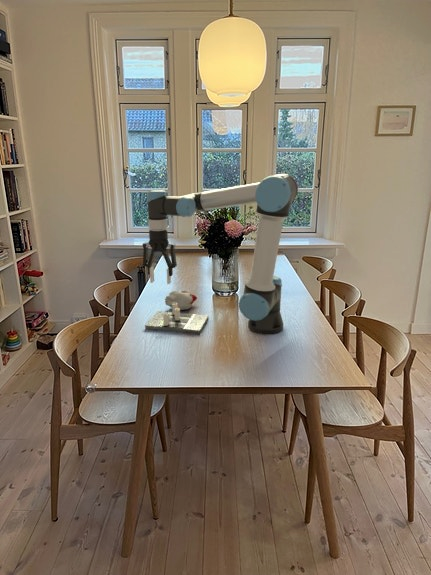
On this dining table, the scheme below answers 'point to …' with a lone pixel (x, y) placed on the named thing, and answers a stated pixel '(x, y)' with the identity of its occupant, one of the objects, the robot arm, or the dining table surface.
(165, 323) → the breaker near
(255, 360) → the dining table surface
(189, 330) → the panel
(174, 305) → the breaker far
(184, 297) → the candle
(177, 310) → the breaker mid
